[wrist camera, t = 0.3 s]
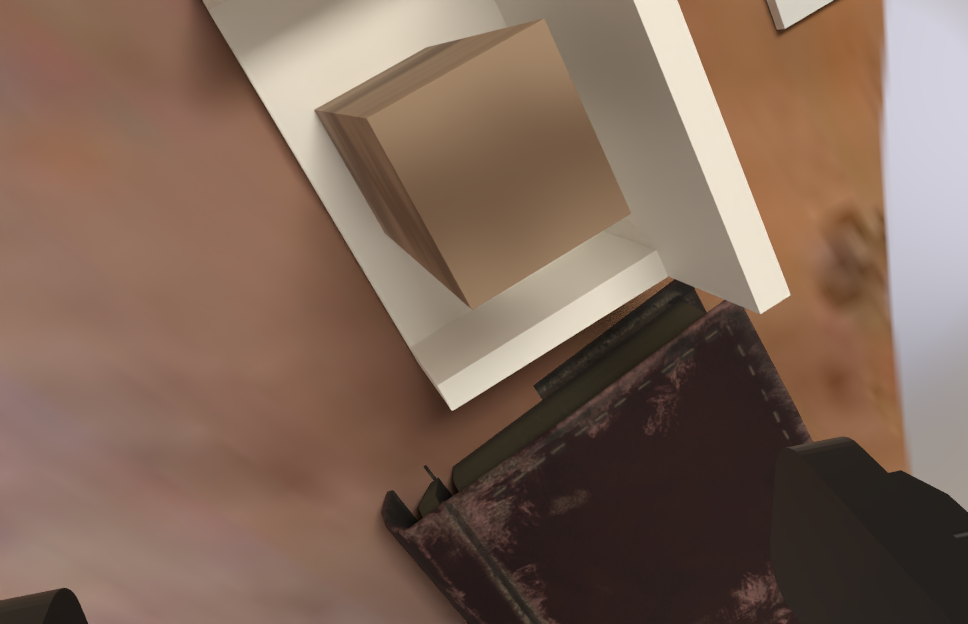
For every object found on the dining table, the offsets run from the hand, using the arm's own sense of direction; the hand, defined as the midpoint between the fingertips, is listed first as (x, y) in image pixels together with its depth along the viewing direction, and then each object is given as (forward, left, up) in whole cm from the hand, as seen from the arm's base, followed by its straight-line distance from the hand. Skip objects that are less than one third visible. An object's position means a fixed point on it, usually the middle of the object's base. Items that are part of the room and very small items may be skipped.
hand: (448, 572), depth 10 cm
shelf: (-1, +7, -26) cm, 27 cm away
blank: (-1, +6, -25) cm, 25 cm away
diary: (+24, +7, -27) cm, 37 cm away
